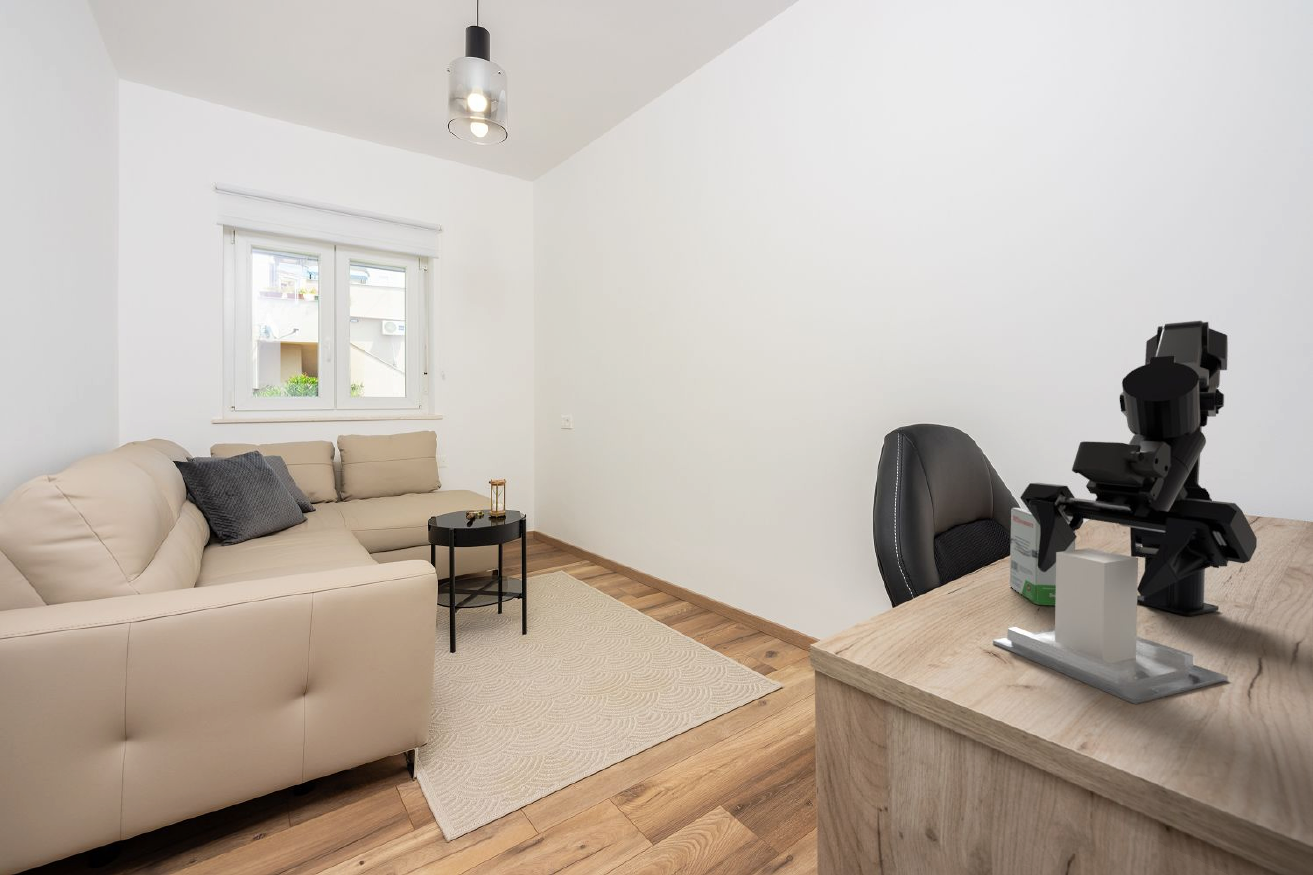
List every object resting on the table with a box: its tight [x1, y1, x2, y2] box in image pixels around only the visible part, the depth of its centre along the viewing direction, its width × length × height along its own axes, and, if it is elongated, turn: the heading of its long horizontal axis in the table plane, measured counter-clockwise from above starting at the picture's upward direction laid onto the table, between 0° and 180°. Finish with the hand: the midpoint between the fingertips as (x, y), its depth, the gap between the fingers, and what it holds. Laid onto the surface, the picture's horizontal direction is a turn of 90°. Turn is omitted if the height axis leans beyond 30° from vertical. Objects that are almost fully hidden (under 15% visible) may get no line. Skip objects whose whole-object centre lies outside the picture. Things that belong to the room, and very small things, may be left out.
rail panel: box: [992, 626, 1229, 705], centre depth 58 cm, size 13×14×2 cm
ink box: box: [1009, 507, 1076, 606], centre depth 78 cm, size 9×5×12 cm, turn 168°
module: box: [1054, 547, 1139, 663], centre depth 58 cm, size 5×5×10 cm
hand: (1087, 580), depth 57 cm, fingers open, 9 cm apart
